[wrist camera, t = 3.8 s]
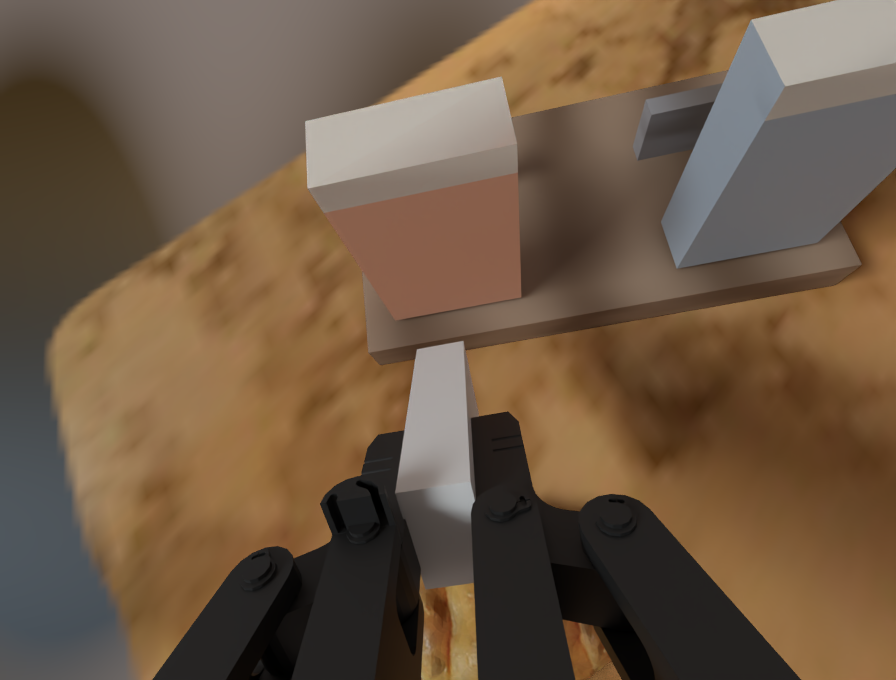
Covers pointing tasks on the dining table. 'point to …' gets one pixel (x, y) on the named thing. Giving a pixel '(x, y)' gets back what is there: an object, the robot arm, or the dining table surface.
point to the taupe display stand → (607, 230)
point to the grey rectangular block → (790, 134)
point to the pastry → (454, 637)
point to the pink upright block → (424, 196)
